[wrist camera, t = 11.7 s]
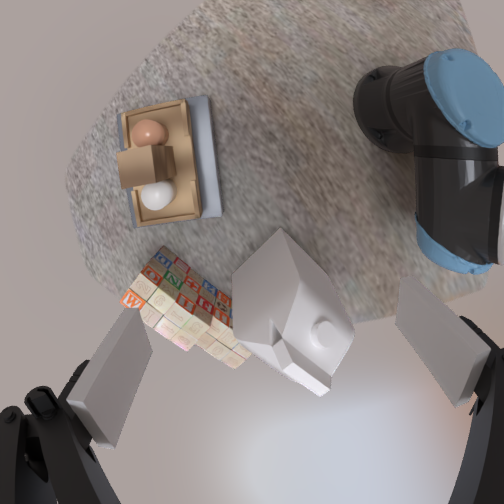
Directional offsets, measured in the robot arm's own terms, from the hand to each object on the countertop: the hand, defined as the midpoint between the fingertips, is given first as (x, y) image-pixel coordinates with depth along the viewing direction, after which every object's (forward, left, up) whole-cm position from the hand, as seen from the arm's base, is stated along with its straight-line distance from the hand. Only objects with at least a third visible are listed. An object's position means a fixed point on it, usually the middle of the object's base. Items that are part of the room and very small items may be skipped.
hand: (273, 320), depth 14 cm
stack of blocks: (+11, +15, -35) cm, 40 cm away
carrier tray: (+12, -8, -31) cm, 34 cm away
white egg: (+12, -4, -27) cm, 30 cm away
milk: (-3, +13, -35) cm, 37 cm away
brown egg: (+12, -12, -27) cm, 32 cm away
